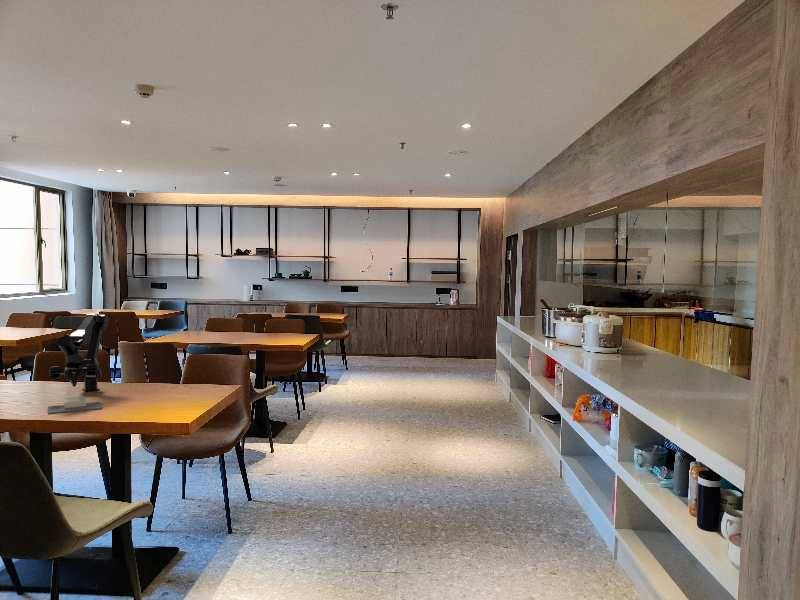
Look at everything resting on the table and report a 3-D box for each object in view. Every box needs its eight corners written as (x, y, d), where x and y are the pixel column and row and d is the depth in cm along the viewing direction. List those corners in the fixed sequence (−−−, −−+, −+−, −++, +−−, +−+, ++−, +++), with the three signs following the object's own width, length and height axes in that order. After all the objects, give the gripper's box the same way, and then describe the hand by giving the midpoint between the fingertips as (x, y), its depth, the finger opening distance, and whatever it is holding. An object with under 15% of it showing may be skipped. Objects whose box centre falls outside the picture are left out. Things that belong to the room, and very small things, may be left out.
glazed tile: (63, 398, 253) (64, 402, 244) (84, 396, 257) (85, 400, 249) (63, 404, 253) (64, 408, 244) (84, 402, 257) (85, 406, 249)
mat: (47, 407, 248) (47, 406, 248) (99, 403, 259) (99, 401, 259) (47, 414, 237) (47, 412, 237) (102, 409, 248) (102, 407, 248)
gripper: (49, 348, 256) (50, 377, 248) (96, 346, 266) (98, 374, 258) (49, 363, 263) (50, 392, 255) (95, 360, 273) (97, 388, 265)
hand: (74, 386), depth 258 cm, fingers closed
